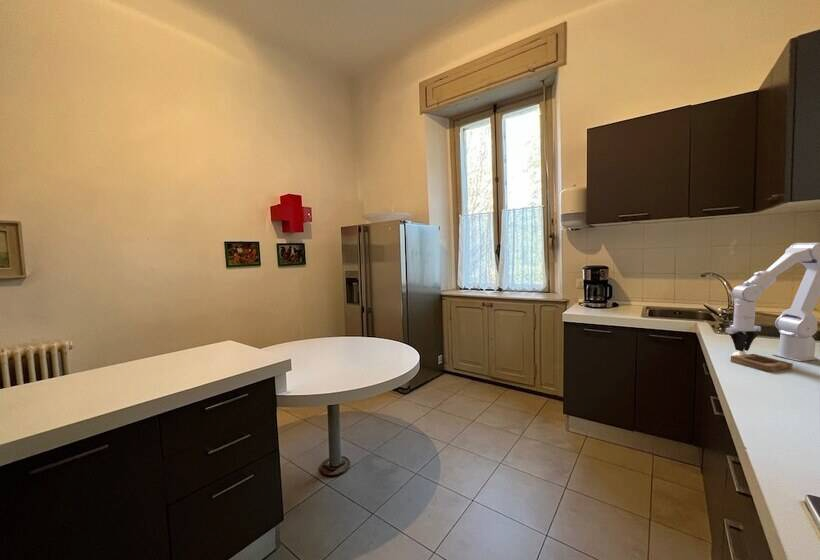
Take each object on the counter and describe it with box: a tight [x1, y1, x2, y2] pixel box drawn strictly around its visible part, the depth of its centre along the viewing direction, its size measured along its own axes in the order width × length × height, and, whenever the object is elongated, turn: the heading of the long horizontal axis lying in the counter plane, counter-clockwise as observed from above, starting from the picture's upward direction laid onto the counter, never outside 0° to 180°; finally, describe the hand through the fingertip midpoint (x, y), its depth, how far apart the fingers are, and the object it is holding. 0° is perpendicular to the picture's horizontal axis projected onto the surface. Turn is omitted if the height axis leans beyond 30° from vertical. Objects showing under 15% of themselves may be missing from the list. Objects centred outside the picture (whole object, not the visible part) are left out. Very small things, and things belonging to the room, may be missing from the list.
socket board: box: [730, 353, 793, 373], centre depth 117 cm, size 11×11×2 cm
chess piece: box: [732, 332, 748, 356], centre depth 127 cm, size 5×5×10 cm
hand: (741, 350), depth 127 cm, fingers closed on chess piece
